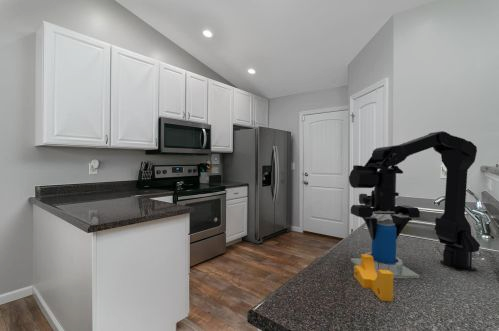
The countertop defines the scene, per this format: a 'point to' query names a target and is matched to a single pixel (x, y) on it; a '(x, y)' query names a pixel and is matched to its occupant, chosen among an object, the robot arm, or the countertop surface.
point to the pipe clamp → (374, 278)
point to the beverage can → (384, 242)
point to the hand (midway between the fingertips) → (383, 239)
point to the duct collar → (390, 267)
